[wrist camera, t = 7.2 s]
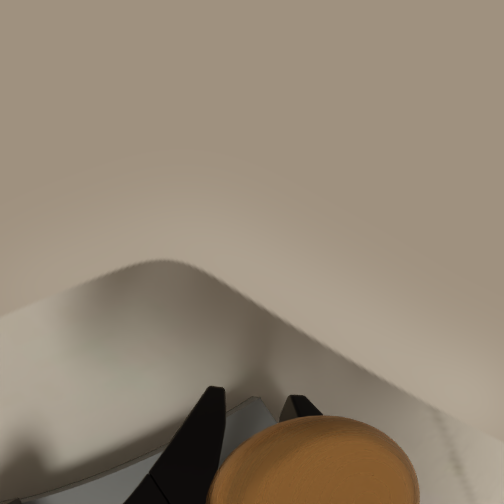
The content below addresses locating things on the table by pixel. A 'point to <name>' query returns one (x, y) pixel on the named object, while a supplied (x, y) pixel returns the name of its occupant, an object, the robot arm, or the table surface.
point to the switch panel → (152, 463)
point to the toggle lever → (316, 466)
